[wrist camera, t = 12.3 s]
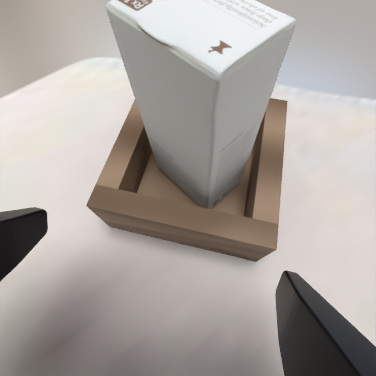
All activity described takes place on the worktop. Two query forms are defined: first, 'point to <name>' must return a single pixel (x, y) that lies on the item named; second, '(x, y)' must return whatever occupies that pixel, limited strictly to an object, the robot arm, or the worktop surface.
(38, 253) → the worktop surface
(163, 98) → the skincare box
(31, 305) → the worktop surface
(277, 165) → the walnut socket
